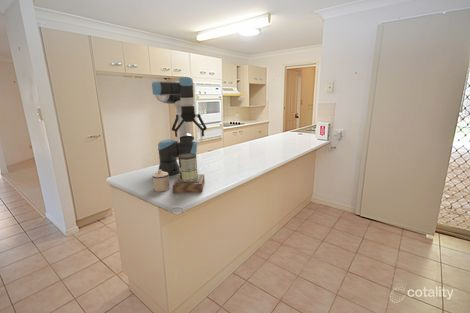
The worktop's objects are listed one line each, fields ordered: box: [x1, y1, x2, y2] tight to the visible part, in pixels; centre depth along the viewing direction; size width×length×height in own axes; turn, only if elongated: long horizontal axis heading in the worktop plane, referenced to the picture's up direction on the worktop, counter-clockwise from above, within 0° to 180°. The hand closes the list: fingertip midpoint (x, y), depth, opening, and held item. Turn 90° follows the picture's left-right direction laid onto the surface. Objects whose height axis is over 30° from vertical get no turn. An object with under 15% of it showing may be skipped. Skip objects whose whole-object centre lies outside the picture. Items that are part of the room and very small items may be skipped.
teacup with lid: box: [151, 170, 171, 193], centre depth 134 cm, size 12×9×12 cm
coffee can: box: [177, 153, 199, 182], centre depth 132 cm, size 10×10×14 cm
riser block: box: [172, 173, 205, 194], centre depth 135 cm, size 16×16×5 cm
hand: (190, 142), depth 136 cm, fingers open, 13 cm apart
